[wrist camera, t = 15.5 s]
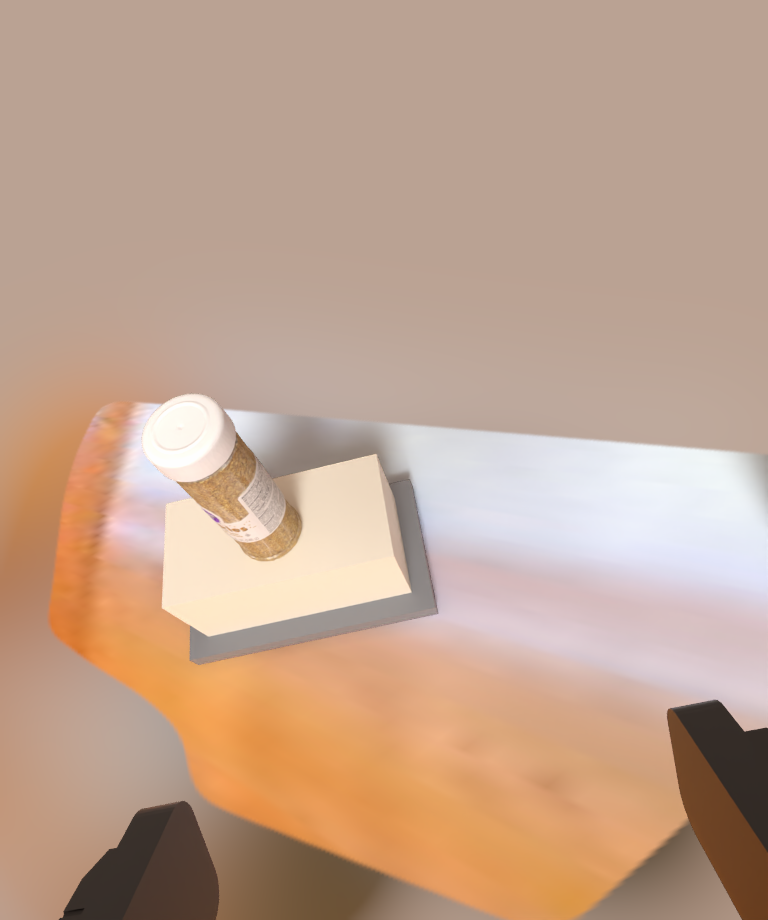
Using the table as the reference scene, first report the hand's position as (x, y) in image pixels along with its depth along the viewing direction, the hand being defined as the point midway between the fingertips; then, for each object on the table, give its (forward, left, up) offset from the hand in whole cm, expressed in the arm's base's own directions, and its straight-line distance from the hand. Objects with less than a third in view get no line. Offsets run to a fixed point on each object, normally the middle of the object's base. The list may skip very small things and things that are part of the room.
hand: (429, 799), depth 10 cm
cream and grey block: (+11, -20, -35) cm, 41 cm away
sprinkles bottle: (+11, -19, -26) cm, 34 cm away
